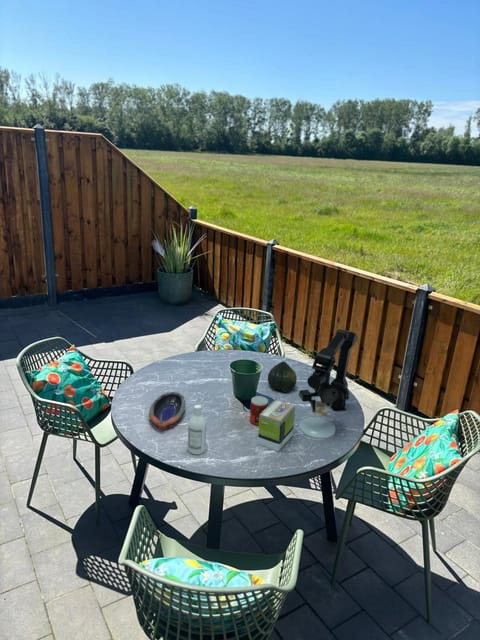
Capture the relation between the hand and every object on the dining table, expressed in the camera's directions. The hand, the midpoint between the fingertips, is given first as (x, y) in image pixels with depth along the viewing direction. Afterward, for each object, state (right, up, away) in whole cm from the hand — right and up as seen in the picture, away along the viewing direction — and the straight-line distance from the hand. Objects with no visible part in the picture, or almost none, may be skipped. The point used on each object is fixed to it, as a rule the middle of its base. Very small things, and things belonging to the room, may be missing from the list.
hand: (319, 411), depth 202 cm
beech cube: (0, -1, 0) cm, 1 cm away
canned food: (-27, -6, +6) cm, 28 cm away
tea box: (-20, -11, -7) cm, 24 cm away
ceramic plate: (-1, -8, +3) cm, 9 cm away
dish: (-68, -3, +8) cm, 69 cm away
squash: (-13, +4, +39) cm, 41 cm away
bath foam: (-53, -12, -17) cm, 57 cm away
